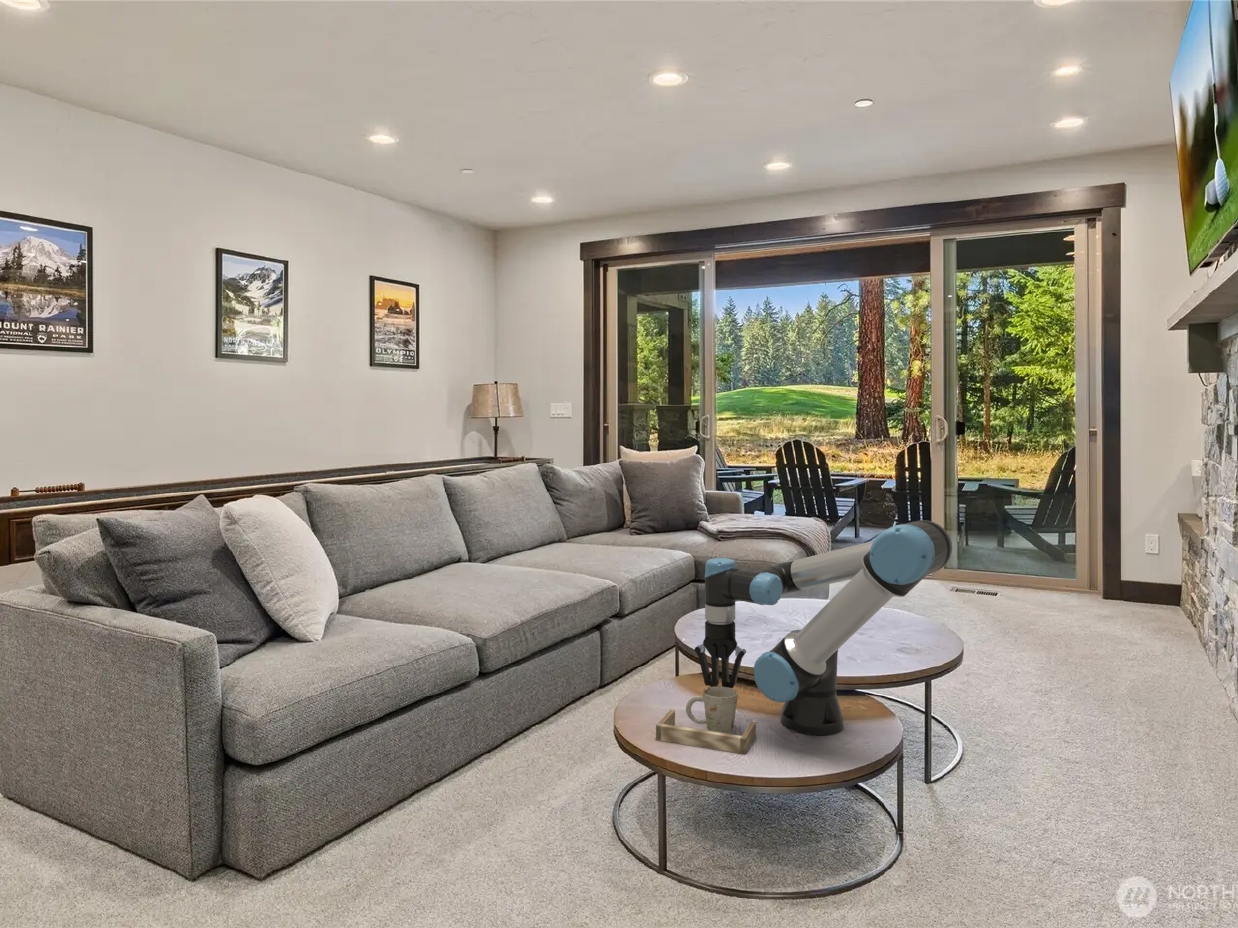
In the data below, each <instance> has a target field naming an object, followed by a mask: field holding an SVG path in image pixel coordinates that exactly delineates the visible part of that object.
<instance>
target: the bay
mask: <svg viewBox="0 0 1238 928" xmlns="http://www.w3.org/2000/svg"><path fill="white" fill-rule="evenodd" d="M756 726H757V722H756V721H752V720H751V721H750V722H749V724H748V725H747V727H746V728H745V730H744V732H743V733H742V735H739V734H733V733H732V734H726V733H719V732H713V731H707V729H706V730H705V729H700V728H699V729H698V728H693V727H692V728H691V727H686V726H679V725H676V709H675V710H674V709H670V710H668V712H667V713H666V714H665V715H664V716H663V717H662V718H661V719H660V720H659V721H658V723H657V724H656V725H655V741H661V742H666V743H673V744H679V745H686V746H692V747H698V748H702V749H703V748H704V749H711V750H716V751H717V750H718V751H722V752H730V753H736V754H742V755H746V754H747V751H748V750H749V749H750V747H751V745H752V743H753V741H754V740H755V738H756V736H757V734H756V732H757V731H756V728H757V727H756Z"/></svg>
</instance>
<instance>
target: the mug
mask: <svg viewBox="0 0 1238 928" xmlns="http://www.w3.org/2000/svg"><path fill="white" fill-rule="evenodd" d="M738 693H739V692H738V691H737V690H736V689H735V688H728V687H722V686H721V687H710V686H709V687H707V688H704V689H703V691H702V696H699V695H697V696H696V695H695V696H692V697H691V698H690V699H689V700H688V701H687V703H686V706H685V713H686V715H687V717H688V718H689V719H690V720H691V722H694V723H695V724H697V725H698V724H700V725H706V731H713V732H719V733H726V734H732V735H733V733H734V726H735V725H734V724H735V718H736V717H735V716H736V710H737V706H738V705H737V704H738V697H739V694H738ZM696 702H702V703H703V704H704V705H703V706H704V713H705V719H697V718H696V717H695V716H694V714H693V713H692V706H693V705H694V704H695V703H696Z"/></svg>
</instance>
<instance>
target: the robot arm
mask: <svg viewBox="0 0 1238 928" xmlns="http://www.w3.org/2000/svg"><path fill="white" fill-rule="evenodd" d="M951 539H952V538H951V537H950V534H949V533H948V532H947V530H946V529H945V528H944V527H942V526H941V525H940V524H938V523H937V522H935V521H931V520H927V519H926V520H924V519H922V520H921V519H919V520H914V521H911V522H907V523H903V524H895V525H893V526H890V527H889V528H887V529H884V530H883V531H882V532H881V533H879V534H878V535H877V536H876V537H875V538H874V540H872V541H866V542H863V543H858V544H855V545H851V546H846V547H843V548H839V549H835V550H831V551H827V552H822V553H820V554H815V555H811V556H807V557H803V558H799V559H795V560H791V561H785V562H780V563H777V564H774V565H772V566H769V567H768V566H767V567H765V568H761V569H758V570H753V571H752V570H746V569H738V568H737V566H736V562H735V560H734V559H732V558H728V557H715V558H710V559H708V560H707V561H706V562H705V568H704V571H705V572H704V587H705V589H704V592H705V598H704V599H705V600H704V619H705V620H706V621H704V639H703V641H702V643H700V644H698V645H696V646H695V648H694V652H695V653H696V655H697V657H698V661H699V665H700V668H701V674H702V677H703V683H704V685H705V686H709V687H728V688H732V689H734V687H735V686H736V683H737V681H738V677H739V672H740V668H741V663H742V660H743V658H744V657H745V655H746V653H747V650H746V649H744V648H741V647H740V646H738V642H737V640H736V622H735V620H736V601H740V602H746V603H750V604H756V605H760V606H774V605H776V604H778V602H779V600H780V599H781V598H782V596H783V595H787V594H789V593H795V592H799V591H804V590H808V589H809V590H810V589H813V588H818V587H821V586H822V587H823V586H827V585H831V584H832V585H833V584H835V583H840V582H845V581H848V582H847V583H846V584H845V585H844V586H843V587H842V588H841V589H840V590H839V591H838V592H837V593H836V594H835V595H834V596H833V597H832V598H831V599H830V600H829V601H828V603H826V604H825V605H824V606H823V607H822V609H820V610H819V611H818V612H817V614H815V615H814V616H813V618H811V619H810V620H809V622H808V623H806V624H805V625H804V627H802V628H801V629H794V630H791V631H790V632H789V633H787V634H786V635H785V636H784V637H783V638H782V639H780V641H779V642H778V643H777V644H776V645H774V647H773V648H771V650H769V651H765V652H764V653H762V654H761V655H760V656H759V657H758V658H757V659H756V661H755V663H754V665H753V675H754V681H755V684H756V686H757V688H758V690H759V691H760V692H761V694H762V695H764V697H766V698H767V699H769V700H770V701H772V702H776V703H783V706H782V708H781V711H780V723H781V725H782V726H783V727H785V728H786V729H788V730H790V731H793V732H795V733H799V734H804V735H810V736H827V735H828V736H829V735H833V734H837V733H839V732H840V731H842V730H843V729H844V715H843V712H842V709H841V706H840V703H839V699H838V694H837V688H838V687H837V685H838V679H837V678H838V652H839V650H840V648H841V647H842V646H843V645H845V643H847V641H849V639H850V638H852V636H854V634H855V633H857V632H858V631H859V630H860V629H861V628H862V627H863V626H864V625H865V624H866V623H867V622H868V621H869V620H870V619H872V617H874V616H875V615H876V614H877V613H878V611H880V609H882V608H883V607H884V606H885V605H886V604H888V602H890V601H891V599H892V598H893V597H898V598H902V597H906V596H907V595H908V594H909V593H910V592H911V591H912V590H913V589H914V588H916V586H917V585H918V584H919V583H920V582H921V581H922V580H923V579H925V578H926V577H927V576H928V575H931V574H933V573H936V572H938V571H940V570H941V569H943V568H944V567H945V566H946V565H947V564H948V563H949V560H950V558H951V557H952V552H953V543H952V542H953V541H952V540H951ZM706 651H707V652H708V654H709V655H710V662H711V670H710V667H709V662H708V658H707V654H706ZM734 652H735V654H734V655H735V656H736V657H735V660H734V663H733V666H732V667H733V668H732V671H731V675H730V673H729V672H730V671H729V670H730V663H729V662H730V657H731V656H732V654H733V653H734ZM720 659H721V660H720ZM720 662H721V686H719V685H720V681H719V680H720V679H719V678H720V677H719V675H720V674H719V673H720V672H719V670H720V669H719V668H720V664H719V663H720ZM710 671H711V672H710ZM729 675H730V676H729ZM729 678H730V679H729Z"/></svg>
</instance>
